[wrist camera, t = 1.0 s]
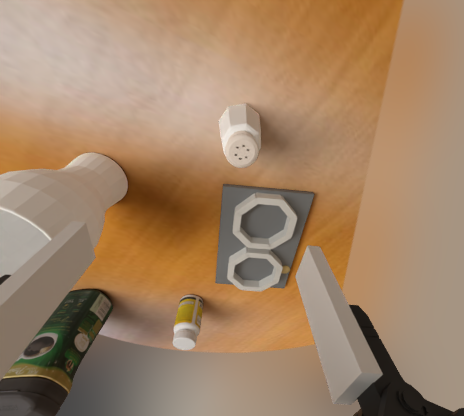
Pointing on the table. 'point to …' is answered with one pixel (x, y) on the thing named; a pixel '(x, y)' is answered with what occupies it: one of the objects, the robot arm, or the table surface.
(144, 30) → the table surface
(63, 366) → the coffee jar
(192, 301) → the supplement bottle
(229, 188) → the collar board
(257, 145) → the pepper shaker
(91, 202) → the cup
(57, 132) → the table surface
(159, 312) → the table surface
